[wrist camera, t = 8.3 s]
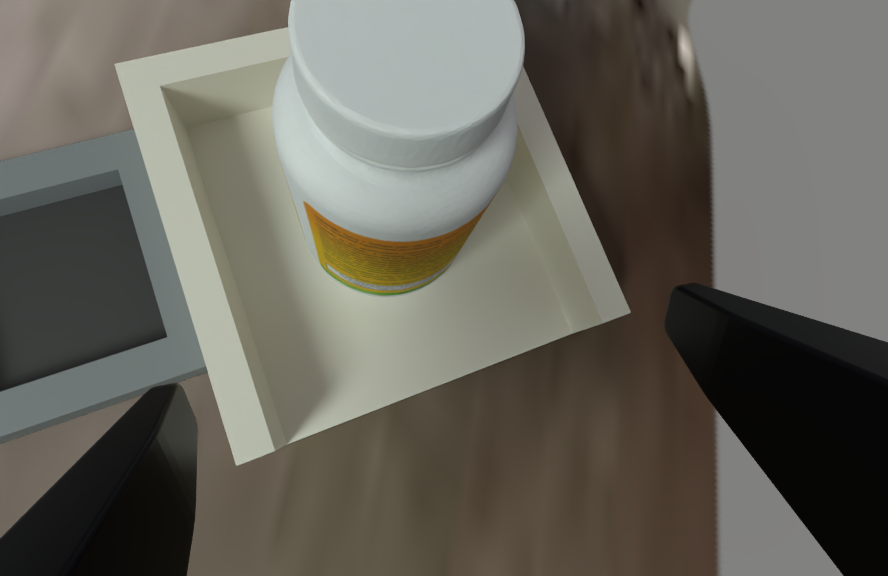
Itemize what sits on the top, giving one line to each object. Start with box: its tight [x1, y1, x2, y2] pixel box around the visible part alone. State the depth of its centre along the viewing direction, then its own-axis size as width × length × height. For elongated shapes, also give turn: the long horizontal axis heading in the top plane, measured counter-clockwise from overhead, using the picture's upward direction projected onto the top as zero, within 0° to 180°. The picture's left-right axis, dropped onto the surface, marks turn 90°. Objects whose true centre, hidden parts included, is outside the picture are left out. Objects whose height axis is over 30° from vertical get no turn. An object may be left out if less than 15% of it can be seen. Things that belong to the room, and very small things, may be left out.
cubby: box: [115, 27, 631, 466], centre depth 17 cm, size 12×12×3 cm
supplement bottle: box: [272, 0, 525, 297], centre depth 13 cm, size 5×5×10 cm
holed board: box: [0, 129, 208, 444], centre depth 16 cm, size 8×8×1 cm
